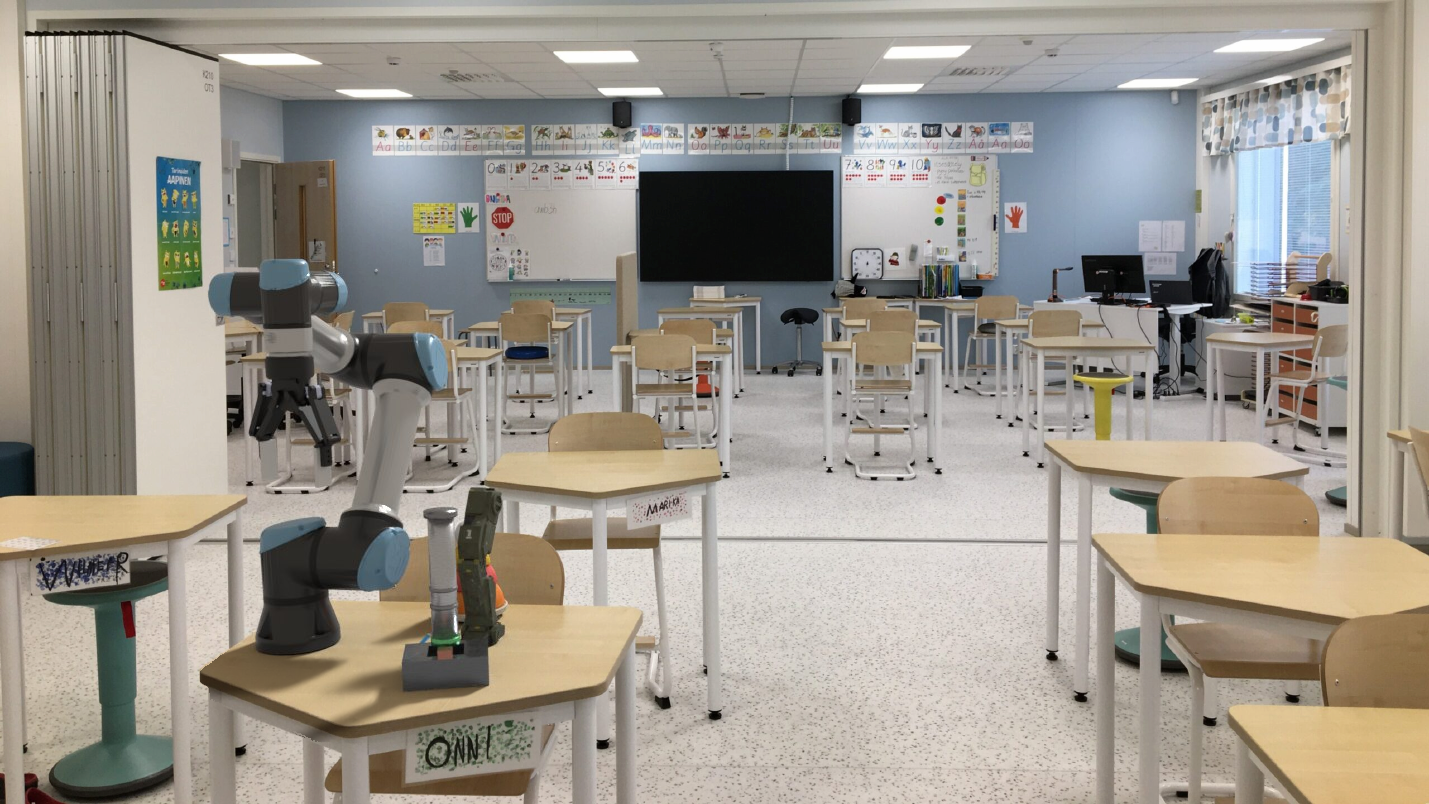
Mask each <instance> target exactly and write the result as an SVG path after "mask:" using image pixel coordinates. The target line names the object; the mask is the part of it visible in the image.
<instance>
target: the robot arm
mask: <svg viewBox="0 0 1429 804" xmlns="http://www.w3.org/2000/svg"><path fill="white" fill-rule="evenodd" d="M348 291H349V290H348V286H347V284H346V282H345V280H344V279H343V278H342V277H341V276H340V275H339V274H337V273H335V272H333V271H328V270H326V269H323V270H310V268H309V263H308V262H307V260H305V259H302V258H283V259H282V258H275V259H264V260H263V261H262V262H260V265H259V271H231V272H223V273H217V274H215V275H214V276H213V277H212V278H211V280H210V282H209V284H208V290H207V297H208V303H209V305H210V308H211V309H212V311H213V312H214V313H215V314H217V315H218V316H221V317H230V318H235V317H241V318H243V319H244V320H246V321H247V322H249V323H251V324H253V325H254V326H256V327H258V328H260V330H263V346H264V347H263V348H264V352H265V354H268V356H265V358H264V369H265V372H264V373H265V378H266V379H267V380H269V381H265V382H259V383H258V385H257V399H256V402H255V407H254V409H253V414H252V416H251V417H252V418H251V420H250V425H249V429H248V436H249V437H254V438H255V440H256V441H257V442H258V457H259V460H260V472H261V481H271V480H275V479H279V470H278V469H279V468H278V467H279V466H278V450H277V448H278V447H277V439H276V438H277V437H276V436H275V433H276V432H277V429H278V427H279V425H280V424H281V422H282V420H283V418H284V417H285V414H286V412H290V413H294V414H295V415H297V416H299V417H300V419H301V421H302V423H303V424H304V426H305V427H306V429H307V431H308V433H309V434H310V437H312V440H313V441H314V443H315V444H314V446H313V447H312V448H313V449H312V451H313V452H312V453H313V467H314V484H315V485H314V486H315V488H316V489H320V488H321V489H322V488H324V487H325V488H326V487H330V486H333V477H332V476H333V475H332V466H333V450H332V449H333V446H334V445H335V444H337V443H340V442H341V441H342V437H341V434H340V431H339V429H338V427H337V424H336V421H335V419H334V415H333V413H332V410H331V408H330V405H329V402H328V400H327V395H326V387H325V385H324V384H315V385H311V381H310V379H311V378H313V377H314V376H315V370H316V371H318V372H320V373H321V374H323V375H324V376H326V377H329V378H331V379H333V380H334V381H337V382H340V383H341V384H344V385H346V386H349V387H353V388H357V389H359V390H360V389H361V390H365V391H372V393H373V394H374V396H375V397H376V399H377V400H376V401H377V402H376V405H375V410H374V413H373V417H372V422H371V426H370V429H369V434H368V439H367V442H366V446H365V451H364V453H363V459H362V463H361V466H360V471H359V475H358V479H357V484H356V488H355V491H354V495H353V499H352V503H351V506H350V507H349V508H347V509H345V510H344V511H342V512H341V514H340V517H339V522H338V525H337V526H327V521H326V520H325V518H324V517H322V516H321V517H320V516H308V517H302V518H294V519H291V520H286V521H282V522H278V523H275V524H272V525H269V526H268V527H266V528H264V529H263V530H262V532H261V533H260V536H259V537H260V539H259V552H258V553H259V555H260V568H261V569H260V571H261V583H262V584H261V585H262V587H261V588H262V599H263V601H262V602H263V604H262V605H263V606H262V610H261V613H260V618H259V621H258V625H257V627H256V631H255V636H254V637H255V648H256V650H257V651H259V652H261V653H265V654H271V655H296V654H303V653H310V652H315V651H319V650H322V649H326V648H329V647H331V646H333V645H335V644H336V643H338V642H340V640H341V638H342V637H341V635H342V634H341V633H342V632H341V624H340V622H339V619H338V617H337V614H336V612H335V609H334V608H333V605H332V602H331V600H330V593H329V592H330V590H331V591H355V592H356V591H360V592H365V593H367V592H368V593H370V592H375V591H376V592H377V591H378V592H379V591H383V592H384V591H387V590H391V589H393V588H394V587H395V586H396V585H397V584H399V582H400V581H401V580H402V579H403V577H404V575H405V573H406V570H407V568H408V565H409V561H410V556H411V550H410V547H411V540H410V537H409V536H410V535H409V534H408V532H407V531H406V530H405V529H404V525H405V524H404V522H403V521H402V520H401V519H400V517H399V510H400V507H401V502H402V497H403V493H404V489H405V488H404V487H405V483H406V479H407V474H408V470H409V465H410V461H411V456H412V452H413V447H414V444H415V443H414V442H415V439H416V434H417V430H418V426H419V420H420V416H421V413H422V409H423V408H425V407H427V406H428V405H430V404H431V402H432V398H433V394H434V392H439V391H442V390H444V389H445V387H446V386H447V383H448V376H449V368H448V360H447V354H446V351H445V348H444V345H443V343H442V341H441V340H440V338H439V337H438V336H437V335H435V334H433V333H428V332H418V331H414V332H380V333H379V332H378V333H377V332H374V333H373V332H352V331H351V332H350V331H347V329H344V328H342V327H339V326H332V325H329V324H328V323H327V322H325V321H324V320H322V319H321V318H320V317H318V316H329V315H331V314H336V313H337V312H339V311H340V310H342V309H343V308H344V306H345V305H346V303H347V300H348V296H349V295H348V293H349V292H348ZM270 380H271V381H270Z"/></svg>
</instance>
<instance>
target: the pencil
mask: <svg viewBox="0 0 1429 804" xmlns="http://www.w3.org/2000/svg"><path fill="white" fill-rule="evenodd" d="M431 636H432V631H430V632H428V633H427V634H426V635H425V636H424V637H423V638H422V639H421V640H420V642H419V643H426V642H428V640H429V639H430V638H431Z"/></svg>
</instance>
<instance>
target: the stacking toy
mask: <svg viewBox="0 0 1429 804" xmlns="http://www.w3.org/2000/svg"><path fill="white" fill-rule="evenodd" d="M463 524H464V520H462V521H461V522H459V523H458V524H457V526H456V527H455V542H456V543H457V542H458V536H459V530H460V526H462V525H463ZM455 553H456V578H457V584H458V589H457V601H458V622H463V623H465V607H464V601H463V595H462V589H461V583H460V578H459V574H458V568H457V561H458V546H455ZM463 560H464V558H463ZM486 572H487V576H486V577H489V575H491V576H492V577H493V578H494V582H495V584H496V606H495V611H496V614H497V617H499V615H501V614H503V613H504V612H505V611H506V610H507V608H508V604H509V603H508V601H507V600H506V599H505V597H504V593H503V591H502V589H501V587H500V586H499V584H497V583H498V575H497V574H496V573H497V572H496V571H495V569H494V568H493V566H492V565H491V557H490V554H487V557H486Z"/></svg>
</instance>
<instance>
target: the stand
mask: <svg viewBox="0 0 1429 804" xmlns="http://www.w3.org/2000/svg"><path fill="white" fill-rule="evenodd" d="M460 641H461V642H460V643H459V644H458V645H455V646H450V647H434V646H432V645H431V641H429V642H428V641H426V642H425V643H420V642H416V643H405V644H404V649H403V653H402V658H401V682H402V693H407V692H409V693H410V692H418V691H419V692H420V691H421V692H422V691H434V690H443V689H444V690H445V689H458V688H469V687H481V686H482V687H483V686H484V687H485V686H490V664H489V647H488V638H480V639H467V640H460Z"/></svg>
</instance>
